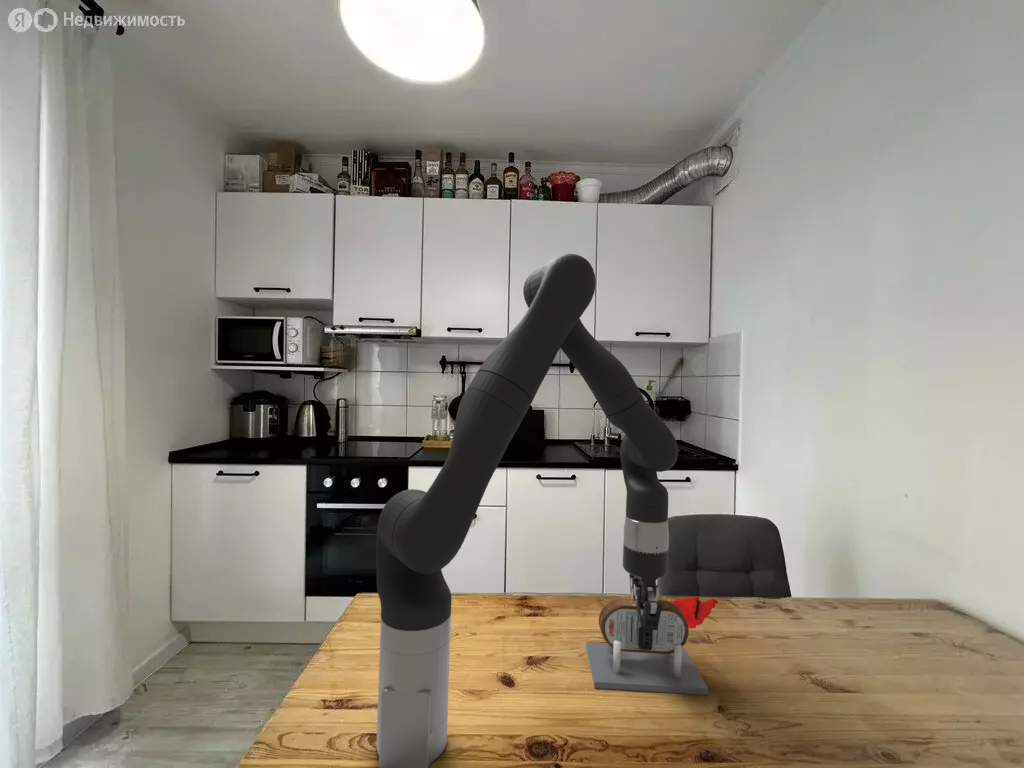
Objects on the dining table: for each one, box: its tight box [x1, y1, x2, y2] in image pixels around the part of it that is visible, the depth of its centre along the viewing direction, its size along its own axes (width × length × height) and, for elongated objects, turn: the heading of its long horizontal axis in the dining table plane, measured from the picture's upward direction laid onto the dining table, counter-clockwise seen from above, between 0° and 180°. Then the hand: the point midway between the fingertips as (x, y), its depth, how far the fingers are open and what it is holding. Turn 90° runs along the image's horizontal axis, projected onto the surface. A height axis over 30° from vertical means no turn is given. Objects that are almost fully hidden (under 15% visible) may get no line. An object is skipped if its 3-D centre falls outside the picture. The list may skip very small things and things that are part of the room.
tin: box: [598, 597, 690, 654], centre depth 82 cm, size 15×3×8 cm, turn 87°
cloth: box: [670, 596, 718, 629], centre depth 103 cm, size 26×14×2 cm, turn 100°
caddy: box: [585, 640, 709, 696], centre depth 82 cm, size 12×18×6 cm, turn 87°
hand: (642, 643), depth 82 cm, fingers closed on tin, 2 cm apart
